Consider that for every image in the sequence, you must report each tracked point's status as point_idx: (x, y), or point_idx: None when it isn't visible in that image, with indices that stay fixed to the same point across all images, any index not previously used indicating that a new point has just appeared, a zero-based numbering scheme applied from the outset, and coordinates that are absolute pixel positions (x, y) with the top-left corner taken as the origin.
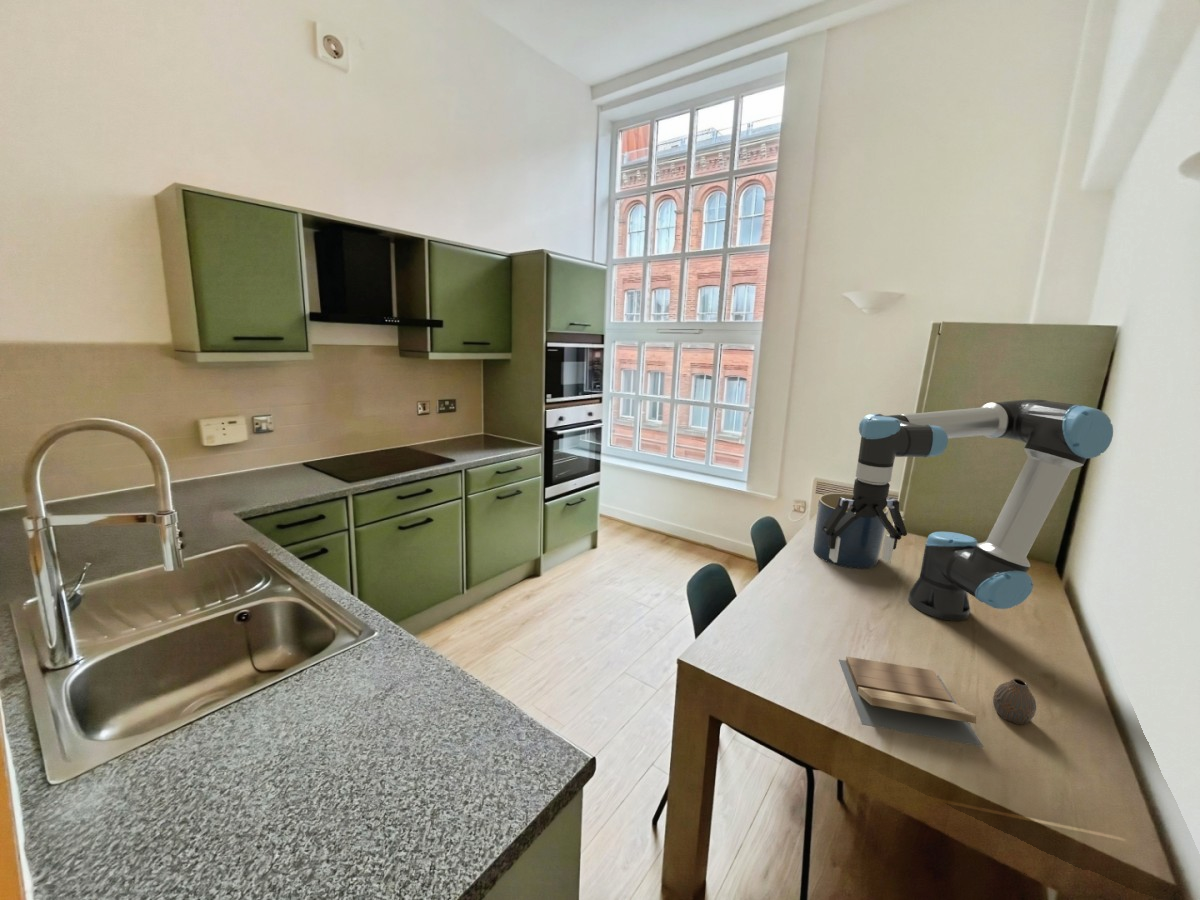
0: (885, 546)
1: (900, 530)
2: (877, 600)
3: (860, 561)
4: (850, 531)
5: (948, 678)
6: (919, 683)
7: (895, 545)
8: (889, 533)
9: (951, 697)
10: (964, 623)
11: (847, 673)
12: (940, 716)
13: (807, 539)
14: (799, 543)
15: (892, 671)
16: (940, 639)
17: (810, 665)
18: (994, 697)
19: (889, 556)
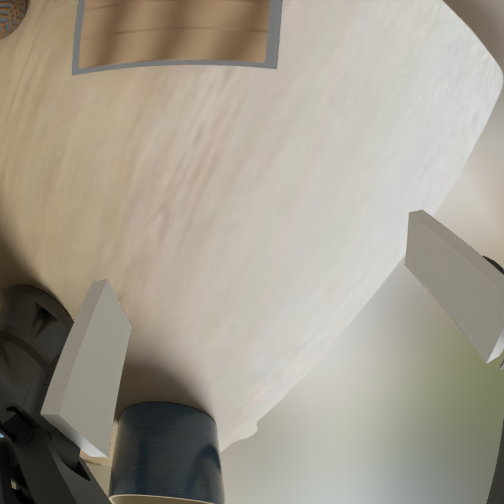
0: (108, 376)
1: (3, 474)
2: None
3: (148, 413)
4: (171, 463)
5: (56, 79)
6: (128, 9)
7: (49, 376)
8: (82, 462)
9: (78, 14)
10: (4, 281)
11: (271, 25)
12: None
13: (219, 446)
14: (234, 437)
15: (172, 30)
16: (37, 217)
17: (341, 49)
18: (17, 9)
19: (91, 306)
